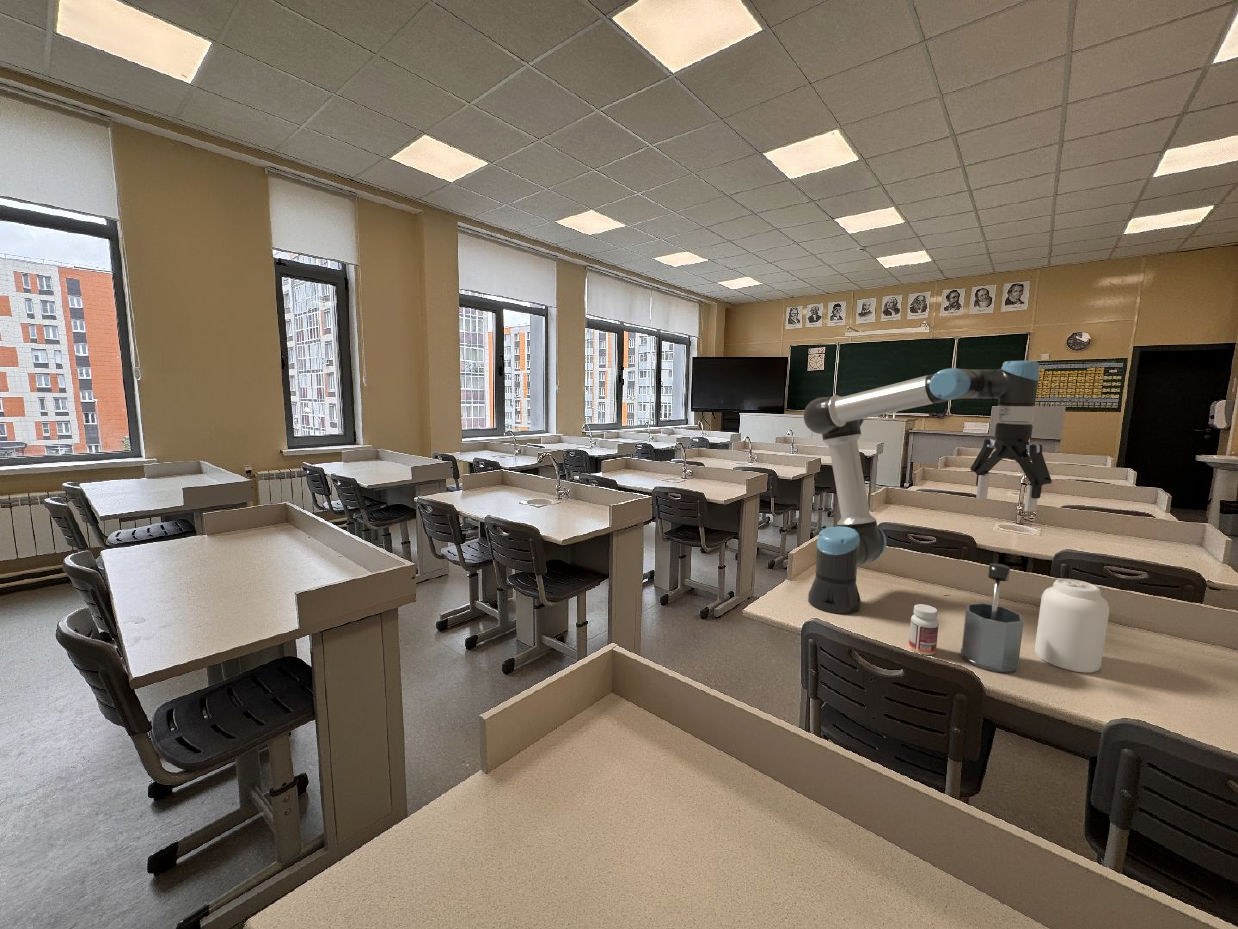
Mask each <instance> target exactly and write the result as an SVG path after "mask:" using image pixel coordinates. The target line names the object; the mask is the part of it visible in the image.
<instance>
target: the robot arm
mask: <svg viewBox="0 0 1238 929" xmlns="http://www.w3.org/2000/svg"><path fill="white" fill-rule="evenodd" d="M1039 382H1040V363H1039V361H1036V360H1007V361H1004V362H1003V363H1002V366H1001V368H998V369H996V368H995V369H969V368H967V369H966V368H965V369H964V368H955V367H949V368H944V369H941V370H939V371H937V372H936V373H931V374H929V375H928V374H927V375H924V376H919V377H916V378H911V379H908V380H905V381H901V382H895V383H893V384H888V385H885V386H884V385H883V386H880V387H876V388H872V389H868V390H864V391H860V392H857V393H852V394H849V395H845V396H843V395H842V396H840V395H838V394H836V395H832V396H831V395H830V396H826V397H824V396H823V397H817V398H815V399H813V400H811V401H810V402H809V403H808V404H807V405H806V407H805V408H804V411H803V421H804V424H805V426H806V427H807V429H809V430H810V431H811V432H813V433H815V434H818V435H822V436H821V437H822V441H823V442H824V443H825V444H827V445H828V448H829V453H830V454H829V455H830V459H831V465H832V466H831V467H832V472H833V477H834V478H833V479H834V483H835V489H836V494H837V501H838V506H839V512H840V519H839V520H838V521H837V525H836V526H828V527H825V528H823V529H822V530H820V531H819V532H818V535H817V536H818V537H817V540H816V561H815V562H816V563H815V577H814V580H813V582H812V584H811V586H810V589H809V591H808V593H807V594H808V597H807V602H808V603H809V604H810V605H811V606H812V607H814V608H816V609H818V610H821V611H823V612H827V613H833V614H840V615H841V614H847V615H848V614H855V613H857V612H859V611H860V610H861V607H862V606H861V605H862V600H861V597H860V593H859V588H858V585H857V574H858V567H860V566H862V565H864V564H865V565H866V564H867V563H871V562H873V561H875V560H877V559H878V558H879V557H881V556H882V555H883V554H884V553H885V551H886V548H887V542H888V541H887V537H886V534H885V532H884V531H883V529H881V528H880V527H879V526H878V522H877V518H875V517H874V516H873V515H871V514H870V507H869V501H868V495H867V490H866V484H865V478H864V474H863V467H862V460H861V457H860V456H861V455H860V449H859V445H858V440H859V439H860V437H861V436H862V431H861V427H862V424H863V423H864V421H865V419H868V418H872V417H873V418H874V417H876V416H877V417H878V416H881V415H886V414H891V413H897V412H899V411H905V410H909V409H913V408H914V409H915V408H917V407H918V408H919V407H923V406H928V405H932V404H933V405H934V404H938V403H942V402H943V403H944V402H947V401H948V402H949V401H952V400H959V399H995V400H996V399H997V400H998V402H997V412H996V414H997V415H996V421H998V422H997V423H996V424H995V428H994V429H995V431H994V436H995V438H996V439H995V438H986V439H984V441H983V445H982V448H981V450H980V451H979V453H978V454H977V456H976V458H975V460H974V461H973V463H972V465H971V467H970V469H969V470H970V471H971V472H974V473H975V474H976V480H975V485H976V487H977V488H976V497H975V499H976V500H987V499H988V494H989V483H990V475H989V472H990V471H991V470H992V469H993V468H994V467H995V466H996V465H997V464H998V463H999V462H1000V461H1001V460H1002V459H1008V460H1011V461H1015V463H1018V465H1019V467H1020V468H1021V470H1022V471H1023V473H1024V475H1025V476H1026V477H1027V480H1028V481H1029V484H1027V486H1026V493H1025V502H1024V508H1023V509H1024V510H1023V511H1024V512H1035V511H1037V504H1038V499H1041V496H1042V495H1041V494H1042V488H1043V486H1044V485H1050V484H1052V481H1053V480H1052V478H1051V475H1050V472H1049V468H1048V466H1047V464H1046V460H1045V458H1044V455H1043V445H1042V444H1040V443H1039V444H1038V443H1037V444H1030V439H1031V438H1032V434H1033V427H1034V425H1033V424H1031V423H1033V422H1034V421H1035V419H1034V418H1035V414H1036V413H1035V411H1036V400H1037V393H1038V388H1039V387H1038V386H1039ZM994 449H995V450H994ZM1028 453H1029V454H1028Z"/></svg>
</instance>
